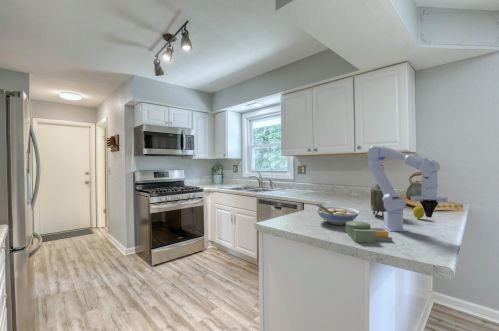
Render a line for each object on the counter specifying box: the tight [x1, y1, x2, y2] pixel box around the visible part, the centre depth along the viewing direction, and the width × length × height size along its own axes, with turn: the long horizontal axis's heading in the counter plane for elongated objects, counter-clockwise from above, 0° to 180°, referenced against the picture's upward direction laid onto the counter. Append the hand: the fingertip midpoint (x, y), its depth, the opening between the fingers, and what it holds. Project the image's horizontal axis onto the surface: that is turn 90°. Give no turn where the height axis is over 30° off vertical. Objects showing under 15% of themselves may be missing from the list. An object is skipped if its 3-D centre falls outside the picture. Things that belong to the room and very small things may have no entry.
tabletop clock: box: [370, 183, 386, 218], centre depth 151 cm, size 14×9×25 cm, turn 159°
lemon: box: [412, 205, 425, 220], centre depth 144 cm, size 6×6×8 cm
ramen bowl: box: [315, 204, 360, 226], centre depth 134 cm, size 25×23×8 cm
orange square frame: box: [370, 227, 389, 237], centre depth 109 cm, size 6×7×4 cm
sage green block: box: [345, 220, 393, 244], centre depth 110 cm, size 15×18×6 cm
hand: (428, 216), depth 109 cm, fingers closed
